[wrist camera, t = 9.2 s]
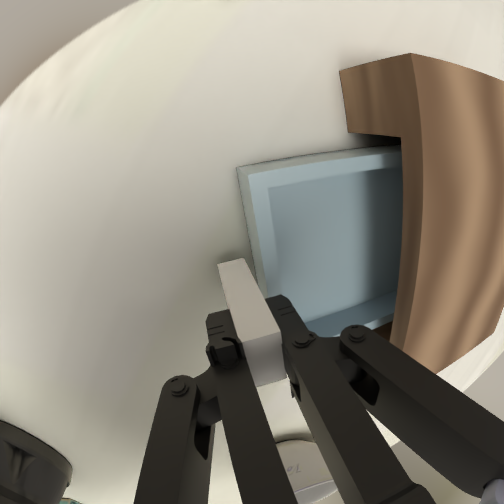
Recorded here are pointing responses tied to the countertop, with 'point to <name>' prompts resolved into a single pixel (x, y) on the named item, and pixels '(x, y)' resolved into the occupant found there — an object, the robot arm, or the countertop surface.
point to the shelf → (440, 198)
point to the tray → (328, 234)
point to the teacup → (306, 471)
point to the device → (68, 501)
